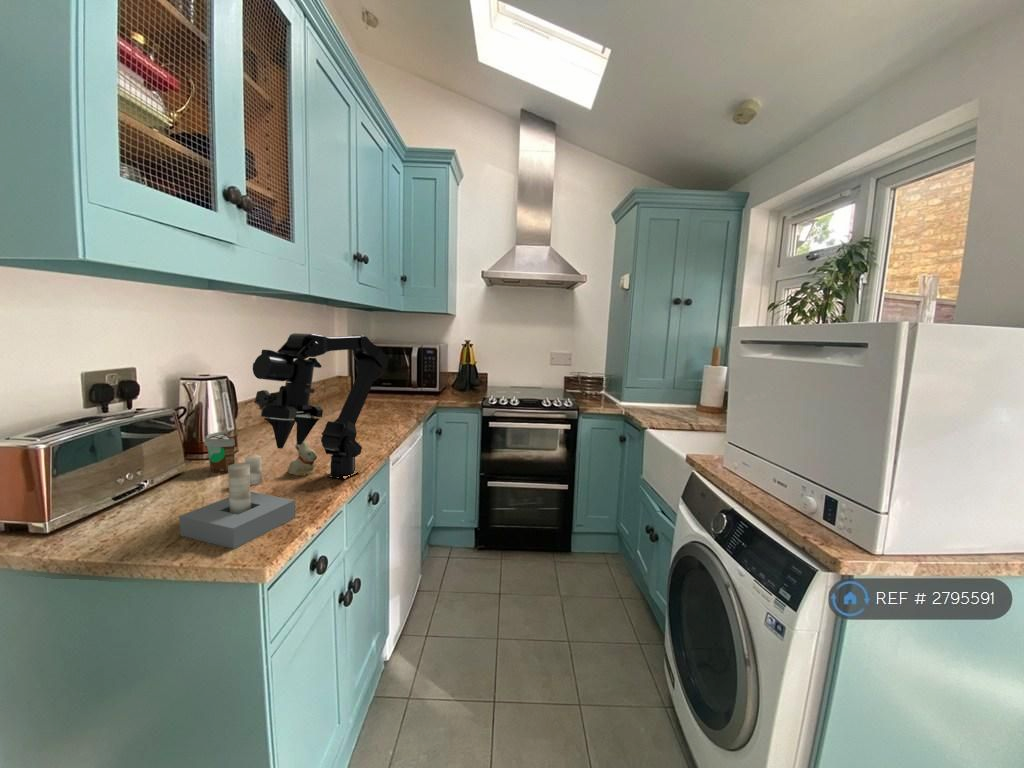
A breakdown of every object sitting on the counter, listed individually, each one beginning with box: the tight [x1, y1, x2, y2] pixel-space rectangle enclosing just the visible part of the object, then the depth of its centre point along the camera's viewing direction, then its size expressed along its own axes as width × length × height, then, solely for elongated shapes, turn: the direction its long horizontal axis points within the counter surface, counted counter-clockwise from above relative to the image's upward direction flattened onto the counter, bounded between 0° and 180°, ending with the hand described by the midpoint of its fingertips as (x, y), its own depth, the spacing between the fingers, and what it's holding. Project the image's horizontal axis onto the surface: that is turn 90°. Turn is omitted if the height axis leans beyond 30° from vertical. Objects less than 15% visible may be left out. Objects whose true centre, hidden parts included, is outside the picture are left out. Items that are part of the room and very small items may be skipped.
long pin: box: [227, 462, 251, 514], centre depth 81 cm, size 4×4×13 cm
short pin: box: [244, 455, 263, 486], centre depth 105 cm, size 4×4×7 cm
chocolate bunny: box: [286, 439, 318, 476], centre depth 113 cm, size 6×8×10 cm
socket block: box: [178, 491, 296, 550], centre depth 81 cm, size 14×14×4 cm
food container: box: [203, 430, 236, 474], centre depth 113 cm, size 12×6×10 cm, turn 44°
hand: (290, 446), depth 96 cm, fingers open, 9 cm apart
